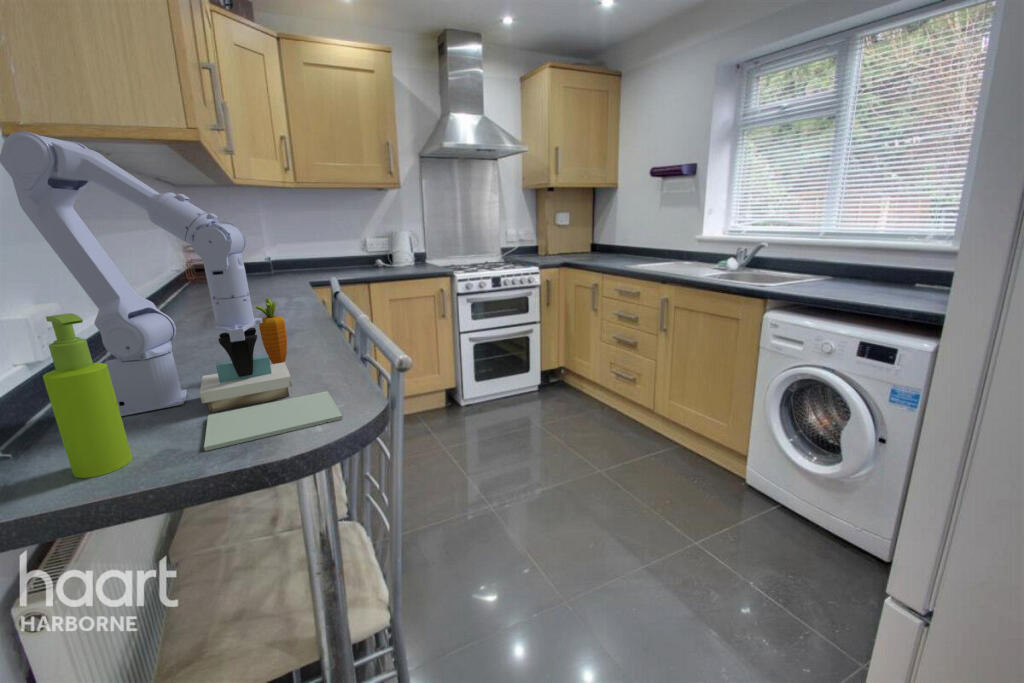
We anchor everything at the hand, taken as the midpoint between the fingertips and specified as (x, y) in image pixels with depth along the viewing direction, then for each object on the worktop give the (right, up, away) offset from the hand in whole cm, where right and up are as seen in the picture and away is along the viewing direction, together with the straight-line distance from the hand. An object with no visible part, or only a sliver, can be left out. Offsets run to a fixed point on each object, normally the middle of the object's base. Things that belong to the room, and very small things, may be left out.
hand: (245, 372), depth 83 cm
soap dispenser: (-5, -11, -22) cm, 25 cm away
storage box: (0, -4, +1) cm, 4 cm away
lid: (0, -2, +1) cm, 2 cm away
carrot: (-2, -1, +16) cm, 16 cm away
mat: (+10, -7, -9) cm, 15 cm away
